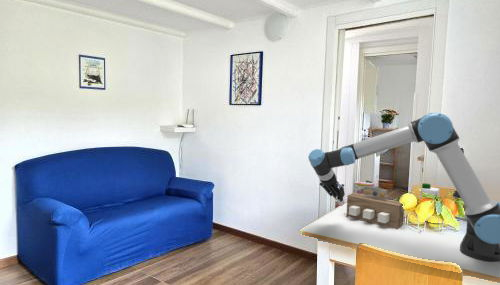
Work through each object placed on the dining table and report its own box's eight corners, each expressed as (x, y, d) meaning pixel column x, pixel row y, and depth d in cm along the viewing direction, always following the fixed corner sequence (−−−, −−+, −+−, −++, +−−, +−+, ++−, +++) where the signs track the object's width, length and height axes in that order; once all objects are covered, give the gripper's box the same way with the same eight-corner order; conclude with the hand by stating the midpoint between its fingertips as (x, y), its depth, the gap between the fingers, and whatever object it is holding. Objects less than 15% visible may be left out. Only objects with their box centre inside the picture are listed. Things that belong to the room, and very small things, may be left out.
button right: (385, 223, 176) (385, 215, 175) (377, 221, 178) (377, 213, 178) (390, 220, 180) (390, 213, 180) (382, 219, 183) (382, 211, 182)
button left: (355, 215, 187) (356, 208, 186) (348, 214, 190) (349, 207, 189) (360, 213, 191) (361, 206, 191) (354, 212, 194) (354, 205, 193)
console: (396, 229, 177) (399, 194, 175) (346, 216, 196) (348, 184, 194) (402, 225, 182) (405, 191, 181) (353, 213, 202) (355, 182, 200)
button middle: (369, 219, 181) (370, 212, 181) (362, 217, 184) (363, 210, 184) (375, 217, 185) (375, 209, 185) (367, 215, 188) (368, 208, 188)
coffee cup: (449, 214, 206) (451, 189, 204) (471, 216, 202) (473, 191, 200) (452, 219, 195) (454, 193, 194) (476, 222, 191) (478, 195, 190)
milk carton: (420, 217, 198) (423, 182, 196) (438, 220, 193) (441, 184, 191) (417, 220, 191) (419, 184, 189) (435, 224, 186) (438, 187, 184)
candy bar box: (352, 209, 210) (353, 182, 208) (353, 207, 214) (354, 180, 213) (371, 212, 205) (373, 184, 204) (372, 210, 210) (374, 183, 208)
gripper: (311, 179, 169) (327, 206, 183) (335, 183, 160) (350, 212, 174) (318, 167, 173) (333, 195, 186) (341, 171, 164) (356, 200, 178)
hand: (341, 203), depth 180 cm, fingers closed
